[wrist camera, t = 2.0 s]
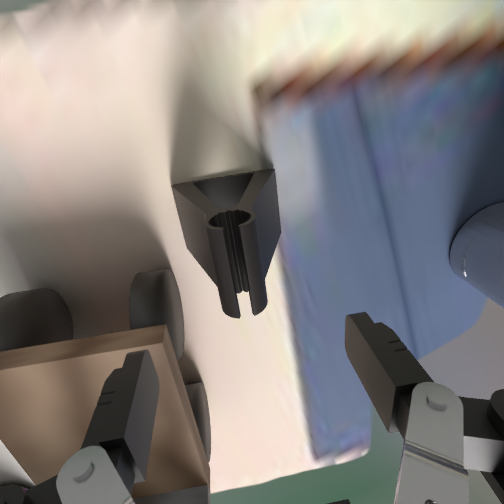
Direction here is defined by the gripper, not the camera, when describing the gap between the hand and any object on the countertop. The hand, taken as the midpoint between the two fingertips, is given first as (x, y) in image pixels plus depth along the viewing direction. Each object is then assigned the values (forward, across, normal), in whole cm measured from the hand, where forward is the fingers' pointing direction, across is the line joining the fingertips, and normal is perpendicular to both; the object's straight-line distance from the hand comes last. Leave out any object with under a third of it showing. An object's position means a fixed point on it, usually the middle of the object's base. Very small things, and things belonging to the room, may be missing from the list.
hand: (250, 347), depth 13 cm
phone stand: (+18, 0, 0) cm, 18 cm away
